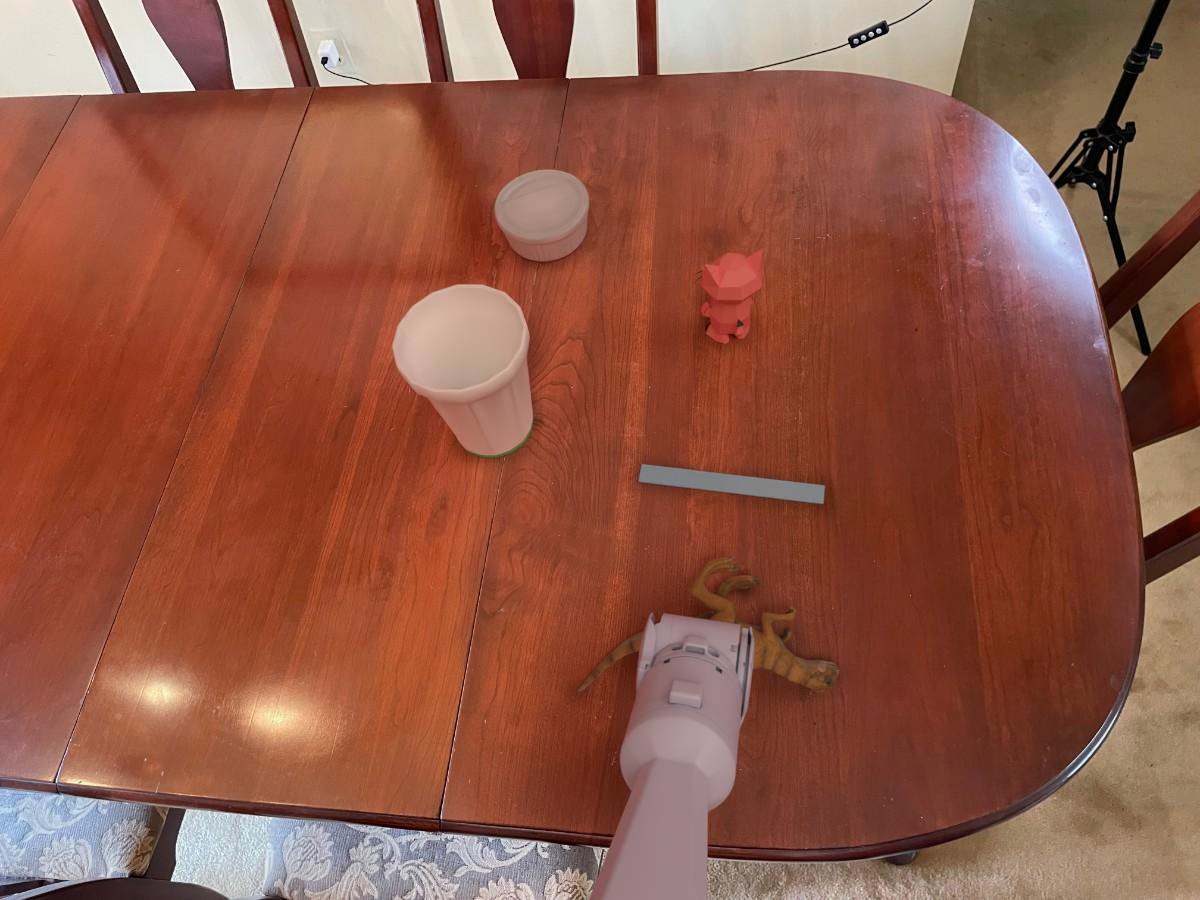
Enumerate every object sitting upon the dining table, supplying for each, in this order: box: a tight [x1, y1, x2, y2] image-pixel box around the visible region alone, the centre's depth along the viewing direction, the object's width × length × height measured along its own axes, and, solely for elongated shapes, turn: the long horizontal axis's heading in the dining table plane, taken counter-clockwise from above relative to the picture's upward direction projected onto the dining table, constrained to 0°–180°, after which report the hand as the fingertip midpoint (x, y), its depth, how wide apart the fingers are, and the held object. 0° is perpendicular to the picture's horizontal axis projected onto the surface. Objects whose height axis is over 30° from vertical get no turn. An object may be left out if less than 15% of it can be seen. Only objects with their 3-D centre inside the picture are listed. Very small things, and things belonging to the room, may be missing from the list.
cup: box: [391, 283, 535, 459], centre depth 83 cm, size 12×12×15 cm
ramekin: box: [493, 169, 590, 263], centre depth 100 cm, size 11×11×5 cm
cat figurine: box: [692, 247, 764, 345], centre depth 87 cm, size 7×7×12 cm
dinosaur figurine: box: [577, 556, 840, 694], centre depth 73 cm, size 7×22×12 cm
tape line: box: [637, 463, 826, 505], centre depth 83 cm, size 2×18×1 cm, turn 79°
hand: (696, 741), depth 70 cm, fingers closed
